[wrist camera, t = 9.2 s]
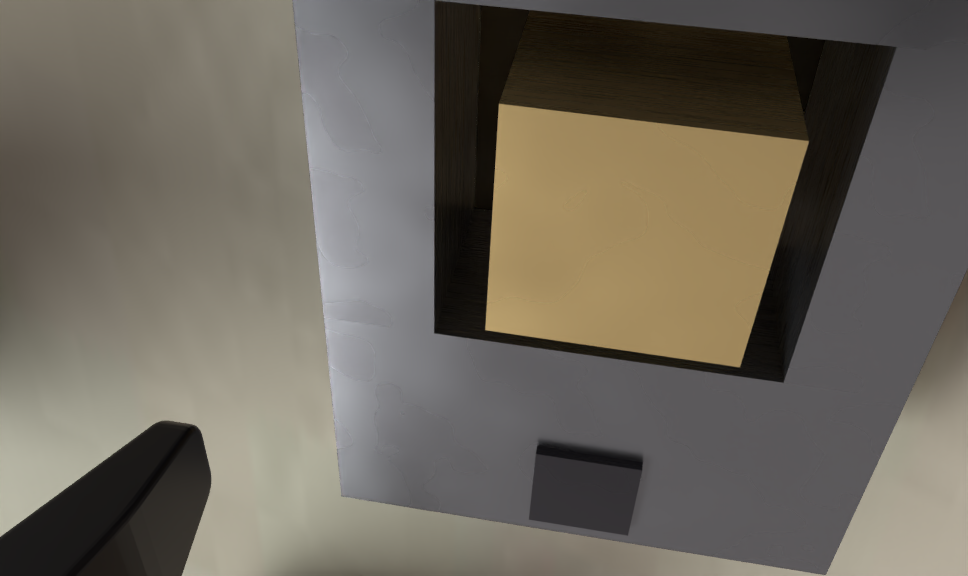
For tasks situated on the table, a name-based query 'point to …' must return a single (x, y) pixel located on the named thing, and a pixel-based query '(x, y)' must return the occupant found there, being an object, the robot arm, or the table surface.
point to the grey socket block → (618, 373)
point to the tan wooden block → (641, 184)
